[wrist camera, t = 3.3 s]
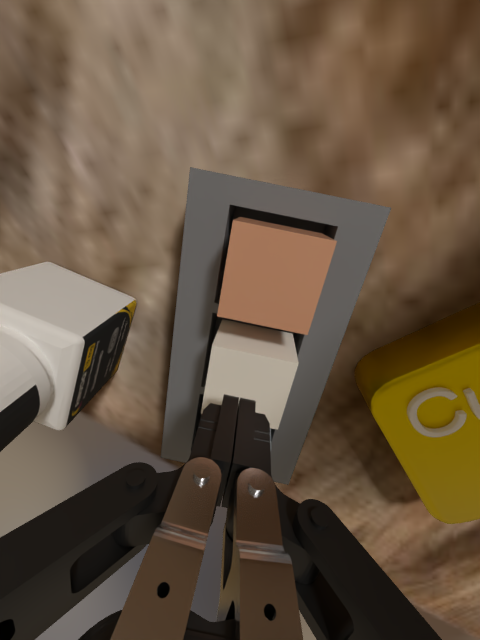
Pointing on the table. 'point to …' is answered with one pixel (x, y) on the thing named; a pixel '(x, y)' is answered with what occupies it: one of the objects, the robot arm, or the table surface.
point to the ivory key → (252, 368)
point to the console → (203, 323)
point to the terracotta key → (274, 274)
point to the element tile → (432, 410)
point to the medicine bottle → (56, 344)
